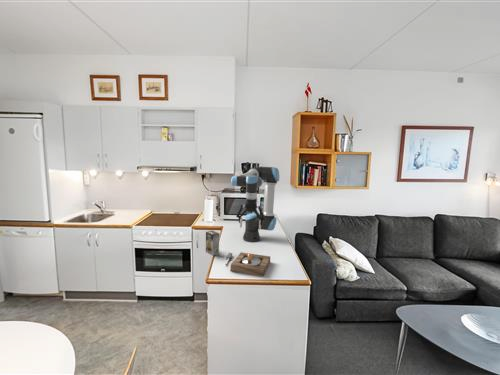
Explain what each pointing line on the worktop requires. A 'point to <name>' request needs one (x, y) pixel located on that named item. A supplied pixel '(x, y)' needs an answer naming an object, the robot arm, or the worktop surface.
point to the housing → (250, 269)
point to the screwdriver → (228, 258)
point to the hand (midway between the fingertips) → (250, 228)
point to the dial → (251, 260)
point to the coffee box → (212, 242)
